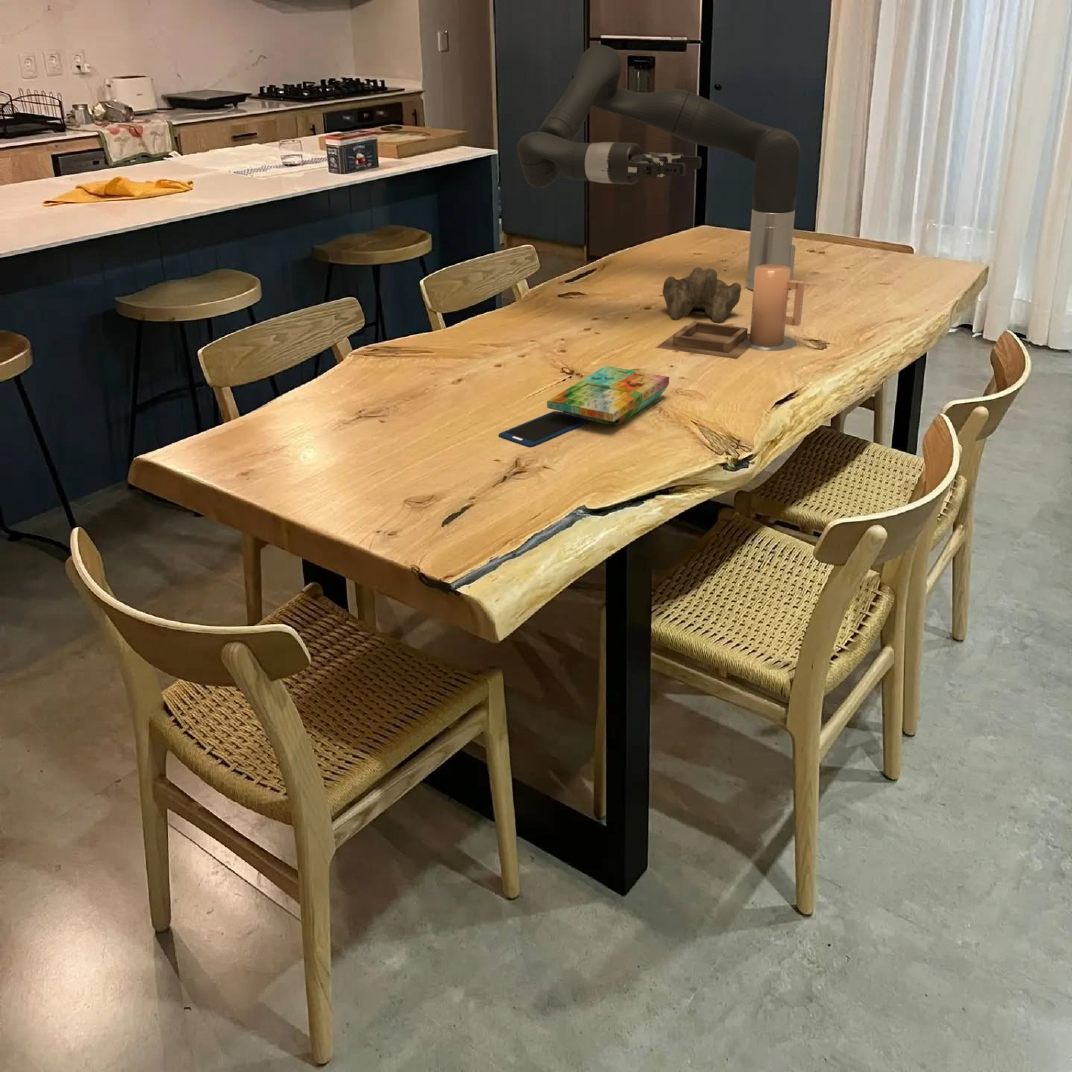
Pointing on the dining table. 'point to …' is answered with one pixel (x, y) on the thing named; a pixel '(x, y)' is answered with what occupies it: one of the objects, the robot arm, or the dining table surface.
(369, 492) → the dining table surface
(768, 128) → the robot arm
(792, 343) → the grey disc
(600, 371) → the puzzle game
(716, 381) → the dining table surface
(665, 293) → the decorative stone
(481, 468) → the dining table surface
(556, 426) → the cell phone
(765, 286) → the peach orange tall mug
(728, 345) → the holder
